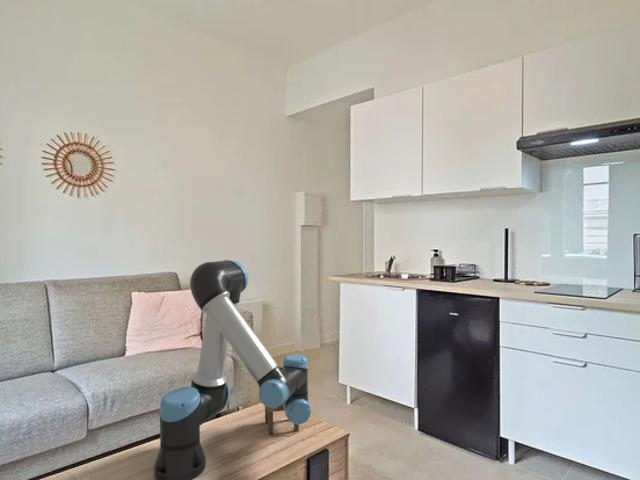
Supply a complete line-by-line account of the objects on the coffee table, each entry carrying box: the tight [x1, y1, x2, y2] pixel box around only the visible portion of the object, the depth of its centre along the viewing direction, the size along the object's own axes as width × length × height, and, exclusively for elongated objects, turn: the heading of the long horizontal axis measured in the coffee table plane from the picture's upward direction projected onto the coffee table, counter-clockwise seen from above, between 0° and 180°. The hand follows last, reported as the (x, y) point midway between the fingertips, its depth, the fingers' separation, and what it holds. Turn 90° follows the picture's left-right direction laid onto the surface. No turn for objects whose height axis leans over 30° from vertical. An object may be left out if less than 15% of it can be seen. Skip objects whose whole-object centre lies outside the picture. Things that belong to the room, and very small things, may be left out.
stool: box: [264, 404, 300, 436], centre depth 155 cm, size 12×12×10 cm
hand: (279, 374), depth 158 cm, fingers closed on flower pot, 11 cm apart
